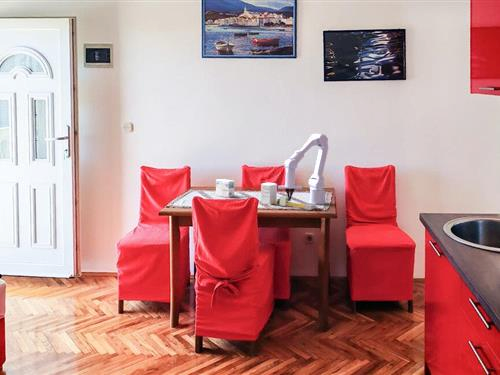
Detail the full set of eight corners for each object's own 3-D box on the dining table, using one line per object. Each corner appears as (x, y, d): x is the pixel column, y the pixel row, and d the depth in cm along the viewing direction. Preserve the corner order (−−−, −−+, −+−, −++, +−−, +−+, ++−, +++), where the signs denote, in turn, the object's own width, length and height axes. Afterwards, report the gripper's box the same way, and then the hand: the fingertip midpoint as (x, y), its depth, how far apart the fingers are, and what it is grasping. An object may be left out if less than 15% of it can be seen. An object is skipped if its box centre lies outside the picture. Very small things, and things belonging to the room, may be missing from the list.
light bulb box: (234, 196, 420) (234, 180, 418) (228, 197, 414) (228, 181, 412) (221, 194, 425) (221, 178, 423) (215, 195, 420) (215, 179, 418)
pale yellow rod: (311, 207, 386) (311, 202, 385) (309, 208, 383) (309, 203, 382) (276, 203, 397) (276, 198, 396) (273, 204, 394) (273, 198, 393)
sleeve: (288, 204, 394) (288, 197, 393) (285, 205, 390) (285, 198, 389) (282, 203, 396) (283, 196, 395) (279, 205, 391) (279, 197, 391)
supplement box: (267, 201, 403) (267, 182, 401) (276, 203, 398) (277, 183, 396) (260, 203, 397) (260, 183, 395) (269, 205, 392) (270, 185, 390)
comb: (315, 207, 387) (315, 203, 386) (311, 209, 380) (311, 205, 380) (309, 206, 389) (309, 202, 388) (304, 209, 382) (305, 204, 382)
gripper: (301, 178, 392) (300, 199, 394) (278, 177, 392) (277, 199, 395) (302, 180, 385) (301, 201, 387) (278, 179, 385) (277, 201, 388)
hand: (289, 200), depth 390 cm, fingers closed
